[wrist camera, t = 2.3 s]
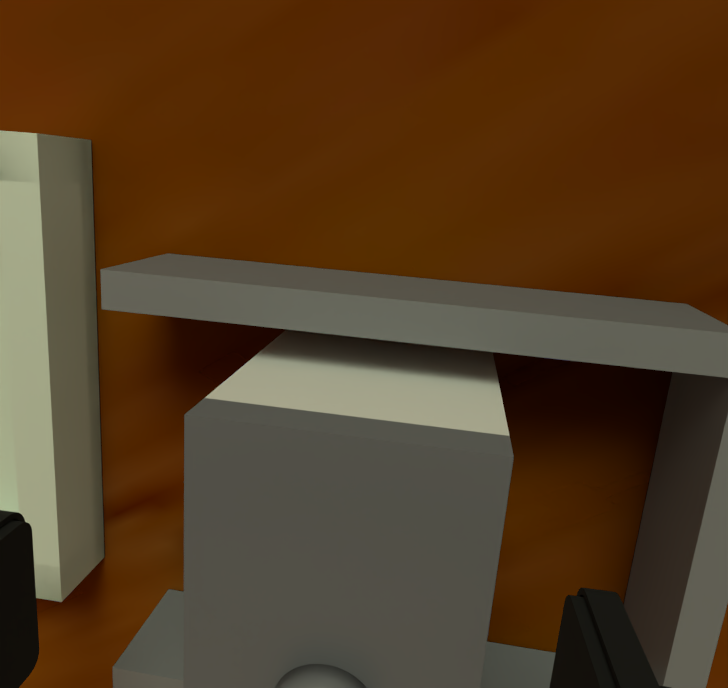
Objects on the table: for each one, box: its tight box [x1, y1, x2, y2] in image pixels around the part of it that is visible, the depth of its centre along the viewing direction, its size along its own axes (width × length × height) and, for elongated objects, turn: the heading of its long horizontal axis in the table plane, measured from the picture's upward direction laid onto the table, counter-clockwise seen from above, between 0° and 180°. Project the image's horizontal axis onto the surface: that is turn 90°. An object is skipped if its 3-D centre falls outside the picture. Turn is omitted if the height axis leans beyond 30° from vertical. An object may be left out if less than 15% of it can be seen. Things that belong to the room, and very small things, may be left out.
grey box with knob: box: [183, 330, 514, 688], centre depth 13 cm, size 5×7×7 cm
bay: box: [101, 254, 728, 688], centre depth 14 cm, size 13×10×3 cm
